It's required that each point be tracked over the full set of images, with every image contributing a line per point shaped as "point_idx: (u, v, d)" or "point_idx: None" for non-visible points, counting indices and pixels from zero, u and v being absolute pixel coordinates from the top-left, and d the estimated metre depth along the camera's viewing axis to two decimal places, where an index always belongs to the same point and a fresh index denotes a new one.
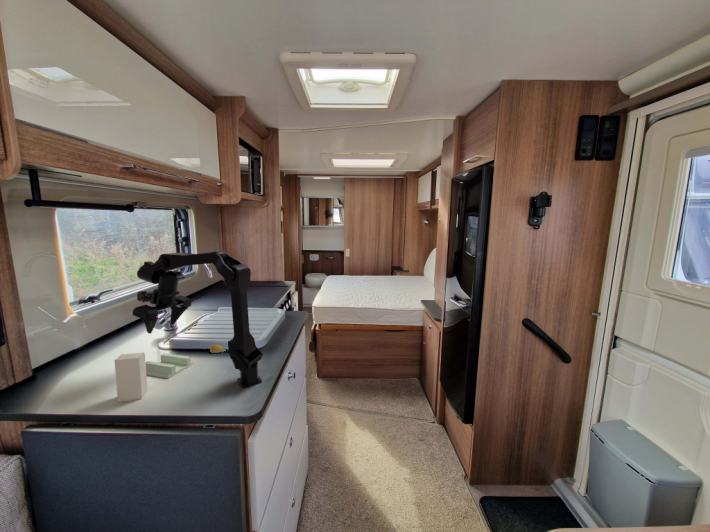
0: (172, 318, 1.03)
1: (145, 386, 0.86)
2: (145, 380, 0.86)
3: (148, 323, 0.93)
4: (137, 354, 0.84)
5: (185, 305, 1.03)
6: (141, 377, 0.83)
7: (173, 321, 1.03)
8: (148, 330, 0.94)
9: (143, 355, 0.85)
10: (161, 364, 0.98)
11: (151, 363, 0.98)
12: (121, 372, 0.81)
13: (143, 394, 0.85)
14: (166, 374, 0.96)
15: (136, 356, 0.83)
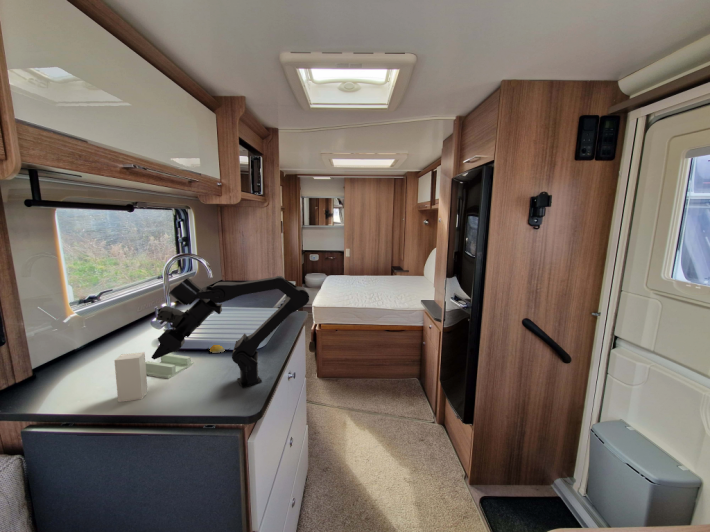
0: None
1: (145, 386, 0.86)
2: (145, 380, 0.86)
3: (163, 350, 0.80)
4: (137, 354, 0.84)
5: None
6: (141, 376, 0.83)
7: None
8: (155, 356, 0.81)
9: (143, 355, 0.85)
10: (161, 364, 0.98)
11: (151, 363, 0.98)
12: (121, 372, 0.81)
13: (143, 394, 0.85)
14: (166, 374, 0.96)
15: (136, 356, 0.83)
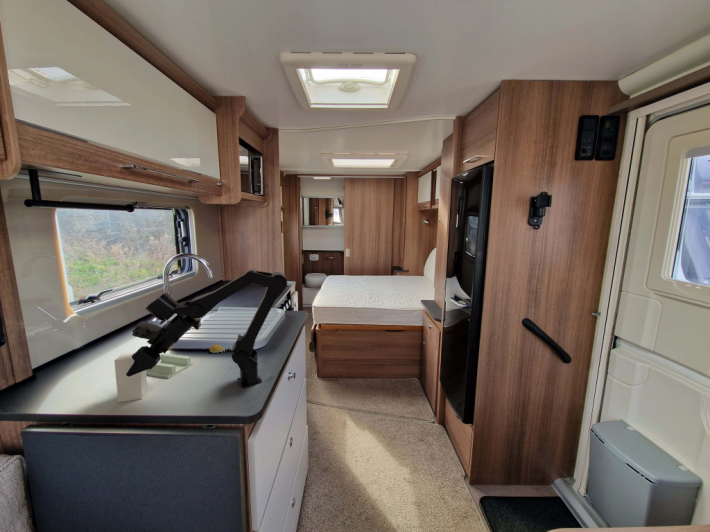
0: None
1: (145, 386, 0.86)
2: (145, 380, 0.86)
3: (138, 367, 0.79)
4: None
5: None
6: (141, 376, 0.83)
7: None
8: (130, 373, 0.79)
9: None
10: (161, 364, 0.98)
11: None
12: (121, 372, 0.81)
13: (143, 394, 0.85)
14: (166, 374, 0.96)
15: None
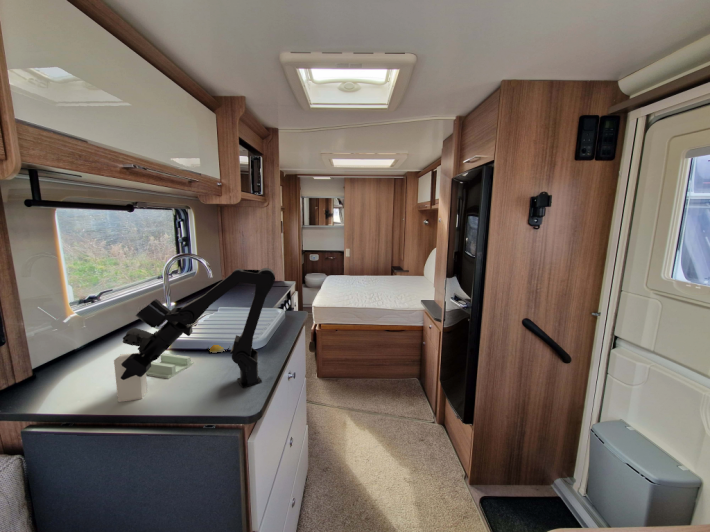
0: None
1: (145, 386, 0.86)
2: (144, 380, 0.86)
3: None
4: None
5: None
6: None
7: None
8: (124, 376, 0.81)
9: (143, 355, 0.85)
10: (161, 364, 0.98)
11: (151, 363, 0.98)
12: (120, 372, 0.81)
13: (143, 394, 0.84)
14: (166, 374, 0.96)
15: None
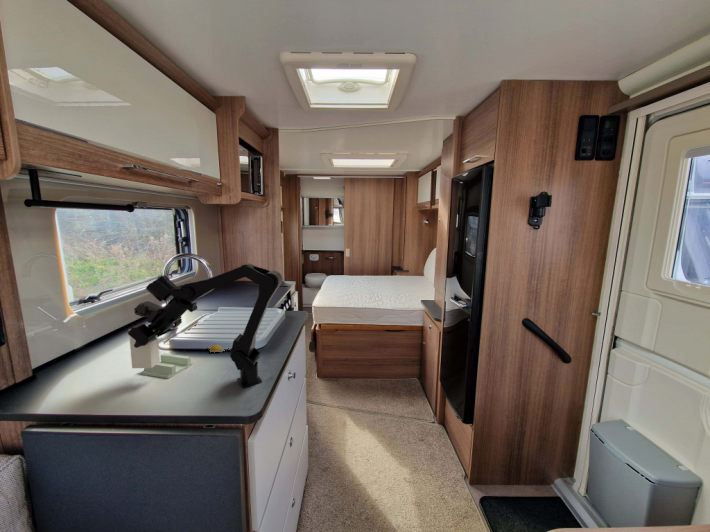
0: None
1: (156, 357, 0.92)
2: (156, 351, 0.92)
3: None
4: None
5: (175, 326, 0.97)
6: (151, 347, 0.90)
7: None
8: (136, 345, 0.88)
9: None
10: (161, 364, 0.98)
11: None
12: (134, 341, 0.88)
13: (153, 364, 0.91)
14: (166, 374, 0.96)
15: None
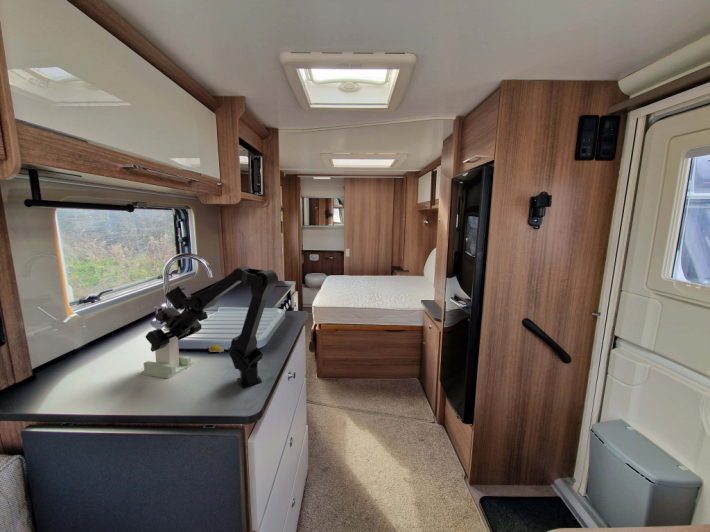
0: (177, 336, 1.05)
1: (176, 360, 1.01)
2: (176, 355, 1.01)
3: None
4: None
5: (194, 332, 1.05)
6: (170, 352, 0.99)
7: None
8: (152, 349, 0.96)
9: None
10: (161, 364, 0.98)
11: (151, 363, 0.98)
12: None
13: None
14: (166, 374, 0.96)
15: None
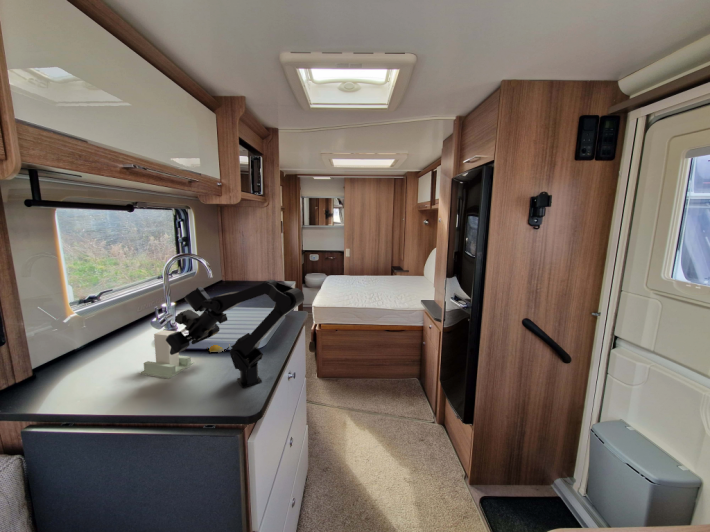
0: (195, 339, 1.03)
1: (176, 360, 1.01)
2: (176, 355, 1.01)
3: None
4: (171, 332, 1.00)
5: (213, 334, 1.03)
6: None
7: (195, 342, 1.03)
8: (171, 352, 0.94)
9: None
10: (161, 364, 0.98)
11: (151, 363, 0.98)
12: (157, 344, 0.99)
13: None
14: (166, 374, 0.96)
15: (168, 333, 0.99)
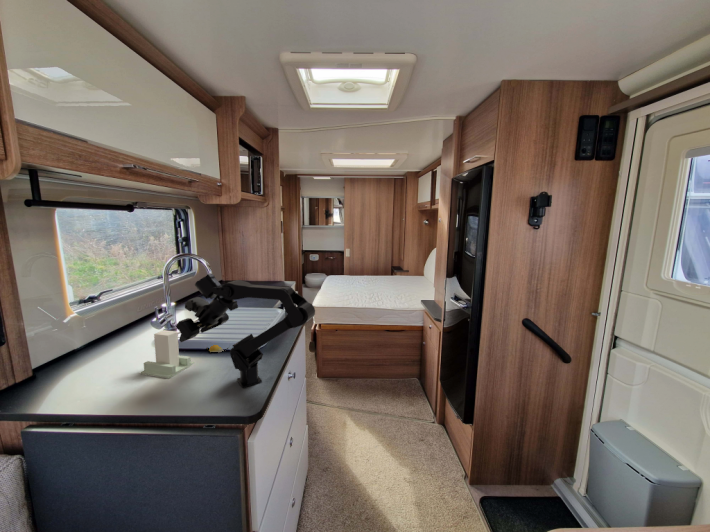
0: (204, 327, 1.02)
1: (176, 360, 1.01)
2: (176, 355, 1.01)
3: None
4: (171, 332, 1.00)
5: (222, 322, 1.01)
6: (170, 352, 0.99)
7: (204, 330, 1.02)
8: (181, 339, 0.92)
9: (175, 334, 1.01)
10: (161, 364, 0.98)
11: (151, 363, 0.98)
12: (157, 344, 0.99)
13: None
14: (166, 374, 0.96)
15: (168, 333, 0.99)
